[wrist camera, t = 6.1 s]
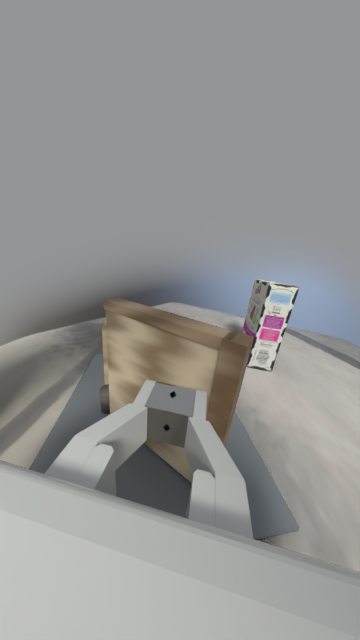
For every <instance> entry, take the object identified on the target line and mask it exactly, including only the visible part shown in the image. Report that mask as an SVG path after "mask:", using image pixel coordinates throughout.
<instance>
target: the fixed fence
mask: <svg viewBox="0 0 360 640" xmlns="http://www.w3.org/2000/svg"><path fill="white" fill-rule="evenodd" d="M102 340H103V360H104V380H105V385H103V386H102V387H101V388H100V403H101V412H102V413H103V414H110V402H109V377H108V353H107V328H106V320H105V321H104V323H103V325H102Z"/></svg>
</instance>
